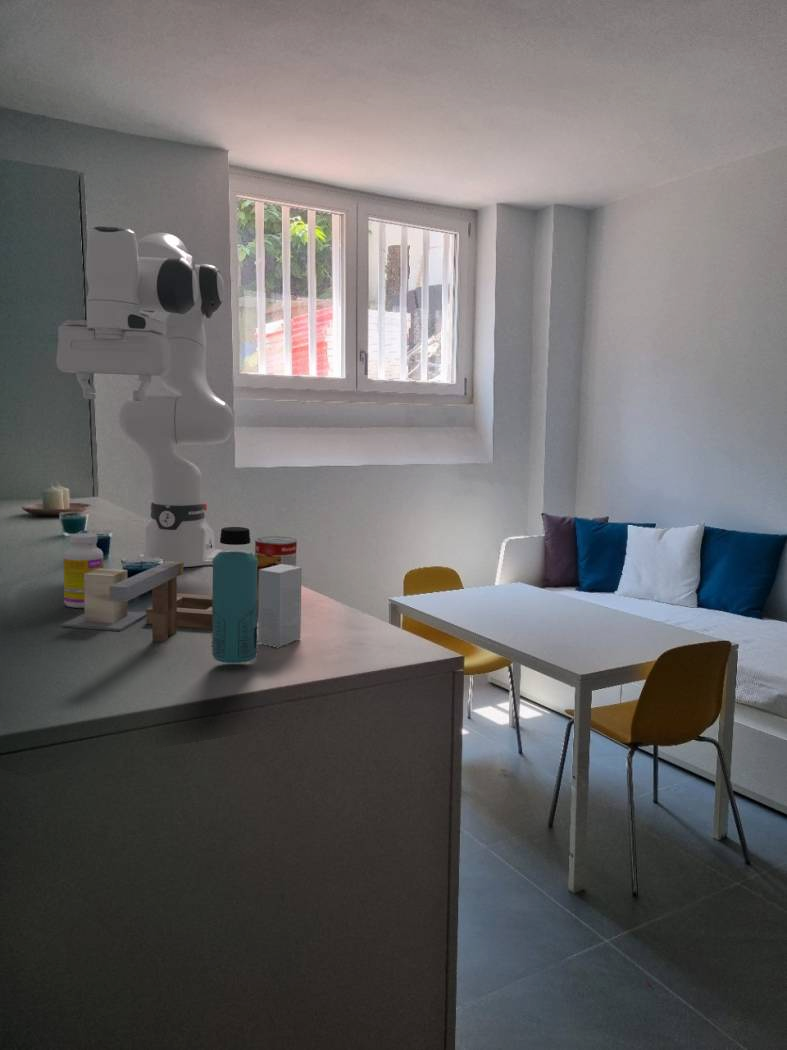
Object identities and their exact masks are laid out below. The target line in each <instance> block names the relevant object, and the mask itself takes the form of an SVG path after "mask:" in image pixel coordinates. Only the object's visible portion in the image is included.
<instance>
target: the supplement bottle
mask: <svg viewBox="0 0 787 1050" xmlns="http://www.w3.org/2000/svg"><path fill="white" fill-rule="evenodd" d="M68 536H69V544H70V546H69V548H67V549H66V550H65V551H64V552H63V602H64V605H65V606H67V607H68V608H76V609H85V601H84V574H85V573H88V572H91V571H93V570H96V569H99V568H103V569H104V552H103V551H102V549H101V548H99V547H97V543H98V534H96V533H91V532H90V533H89V532H79V533H72V534H69V535H68Z"/></svg>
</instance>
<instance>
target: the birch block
mask: <svg viewBox="0 0 787 1050" xmlns="http://www.w3.org/2000/svg"><path fill="white" fill-rule="evenodd" d="M127 578H128V569H118V568H117V569H115V568H104V567H103V568H99V569H96V570H93V571H91V572H88V573H85V574H84V601H85V608H84V614H85V621H89V622H102V623H115V622H117V621H119V620H121V619H123V618H124V617H126V616H128V612H129V610H128V606H129V605H128V601H127V602H122V601H110V587H109V586H111V585H114V584H116V583H118V582H121V581H123V580H125V579H127Z"/></svg>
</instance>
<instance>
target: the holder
mask: <svg viewBox="0 0 787 1050" xmlns="http://www.w3.org/2000/svg"><path fill="white" fill-rule="evenodd" d="M177 578H178V576H177V577H175V578H173V579H171V580H169V581H167V582H165V583H163V584H161V585H159V586H157V587H155V588H153V589H151V590H152V592H151V594H152V596H151V597H152V599H151V600H152V603H151V604H152V606H149V607H147V608H146V609H145V611H146V612H145V613H146V617H145V622H146V623H145V624H146V625H152V627H151V628H152V631H151V633H152V642H153V643H155V642H156V643H163V642H165V641H167V640H168V639H169V638H168V637H172V636H174V635H175V634H177V632H178V631H177V628H178V627H182V628H194V629H195V628H196V629H208V630H209V629H210V630H212V622H211V620H212V619H211V618H212V616H211V615H212V608H211V607H212V605H211V604H212V599H211V598H213V596H212V595H204V594H203V595H202V594H201V595H200V594H188V593H178V588H177V587H178V579H177Z"/></svg>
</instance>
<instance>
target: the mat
mask: <svg viewBox="0 0 787 1050" xmlns="http://www.w3.org/2000/svg"><path fill="white" fill-rule="evenodd" d="M144 618H146V612H136V611H128V616H126V617H124V618H123V619H121V620H119V621H117V622H115V623H102V622H89V621H85V613H83V614H80V615H79V616H76V617H74V618H73V619H70V620H68V621H66V622H64V623H62V627H65V628H66V627H67V628H77V629H91V630H100V631H101V630H103V631H116V632H121V631H123V630H125V629H127V628H129V627H130V626H132V625H134V624H135V623H137V622H139V621H141V620H142V619H144Z"/></svg>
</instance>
